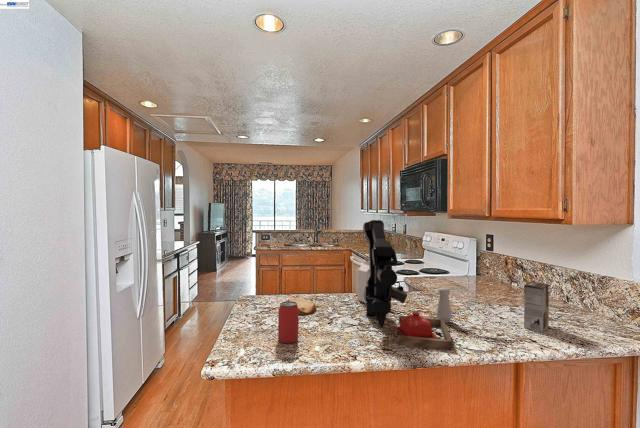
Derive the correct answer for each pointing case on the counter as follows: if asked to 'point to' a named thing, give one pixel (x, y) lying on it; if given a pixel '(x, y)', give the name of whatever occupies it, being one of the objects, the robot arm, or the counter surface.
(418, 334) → the butter dish
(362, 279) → the milk carton
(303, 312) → the slice of bread
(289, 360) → the counter surface
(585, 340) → the counter surface
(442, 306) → the salt shaker
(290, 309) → the beer can
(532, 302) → the coffee box
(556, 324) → the counter surface
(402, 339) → the walnut bay
